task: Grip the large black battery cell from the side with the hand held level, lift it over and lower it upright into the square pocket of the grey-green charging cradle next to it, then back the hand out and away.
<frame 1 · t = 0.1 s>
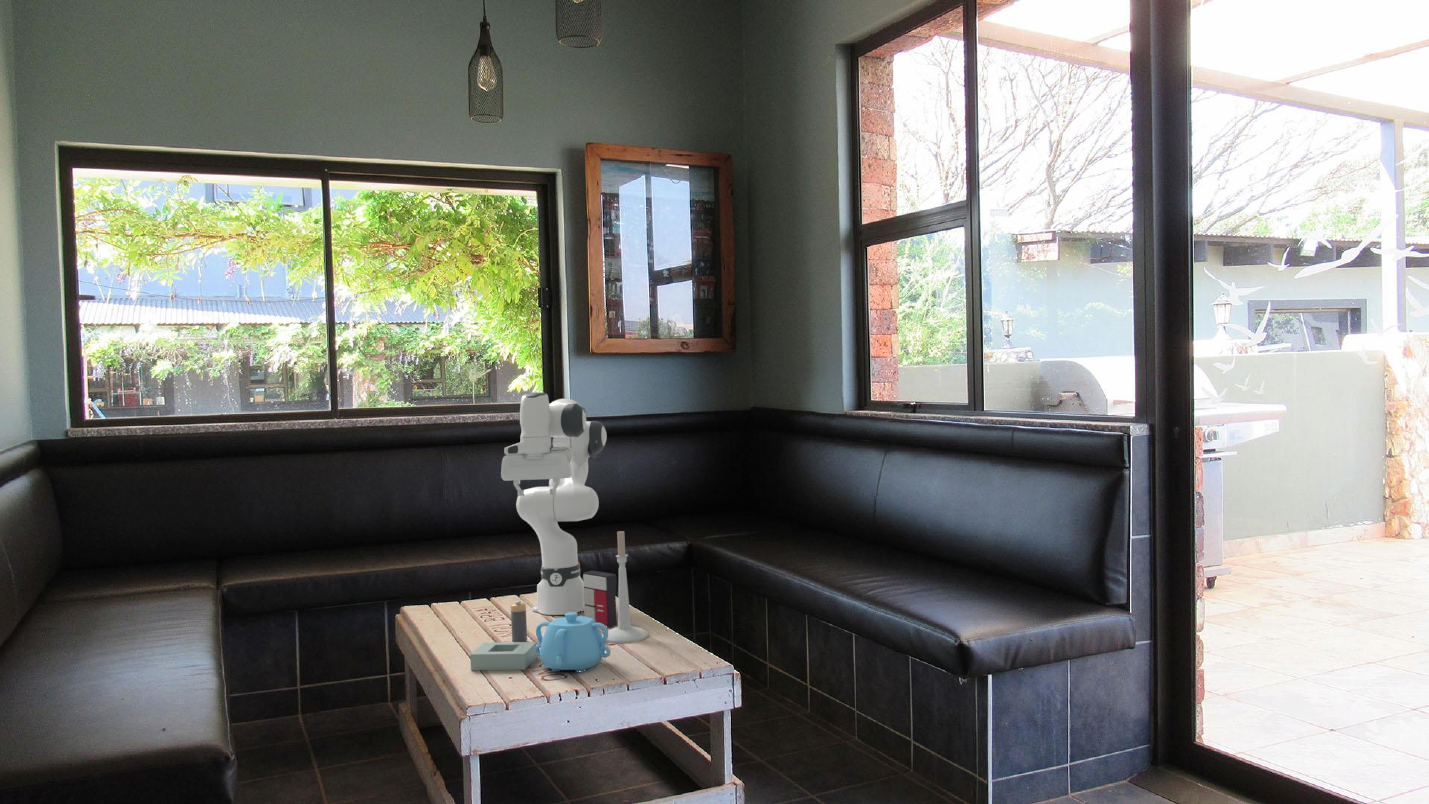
hand: (536, 495, 289), 39 cm above the table, tool pointing down, fingers open, 8 cm apart
decorative pot: (573, 667, 251), on the table
charging cradle: (504, 663, 256), on the table
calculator: (600, 624, 293), on the table
battery cell: (520, 648, 270), on the table
candlestick: (625, 638, 278), on the table
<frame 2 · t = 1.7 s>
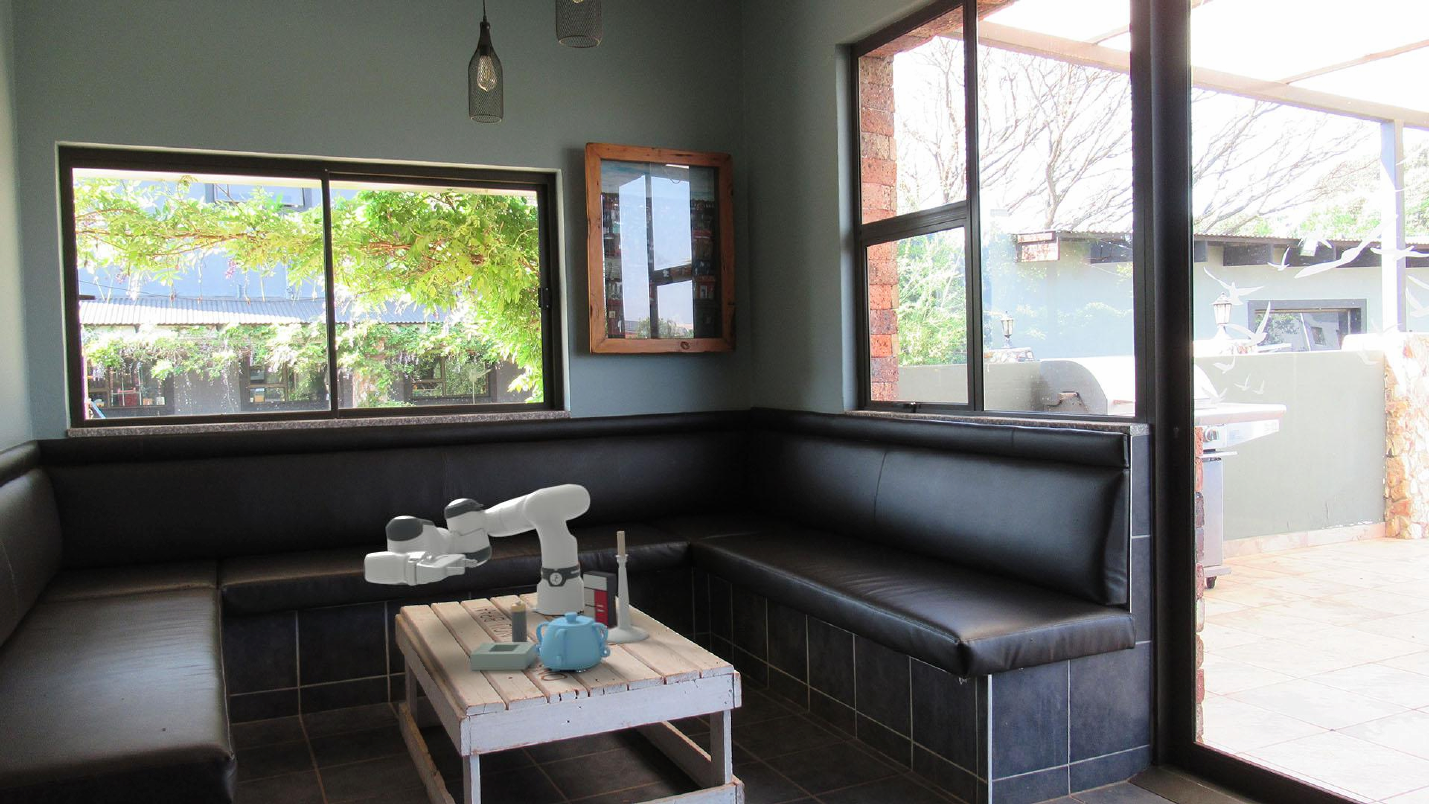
hand: (470, 567, 271), 22 cm above the table, tool horizontal, fingers open, 8 cm apart
nothing on the table moved.
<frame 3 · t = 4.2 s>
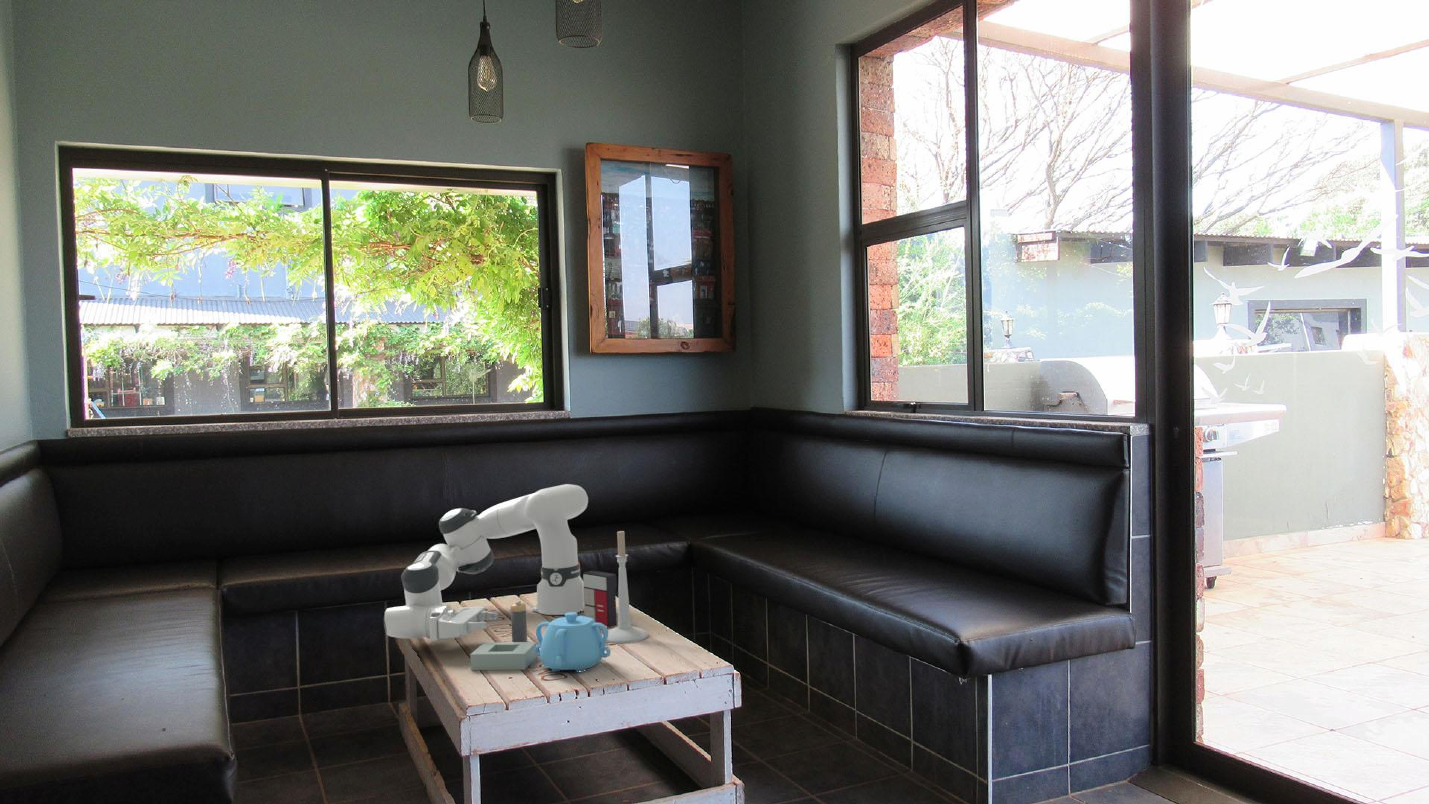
hand: (491, 620, 270), 8 cm above the table, tool horizontal, fingers open, 8 cm apart
nothing on the table moved.
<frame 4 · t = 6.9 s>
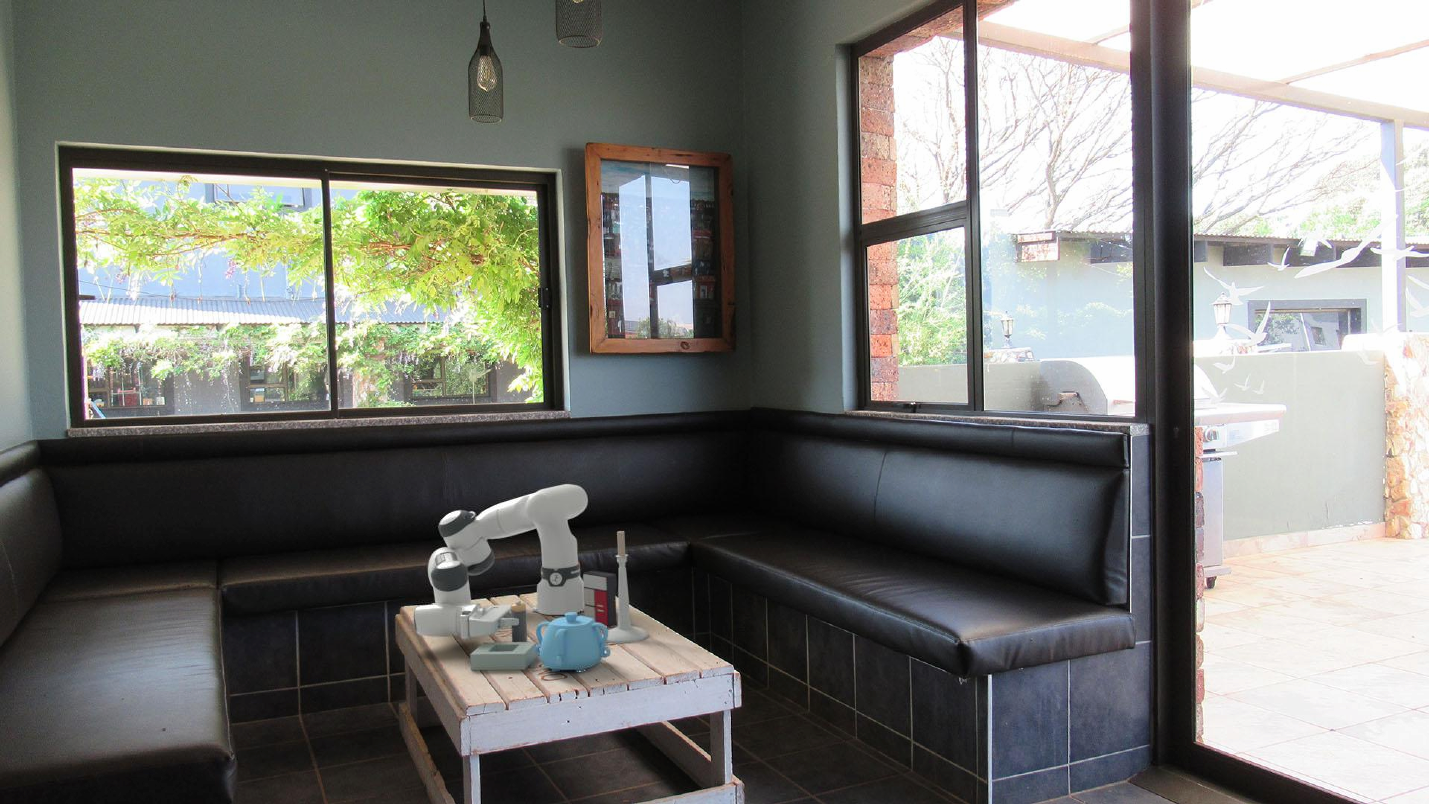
hand: (521, 618, 270), 8 cm above the table, tool horizontal, fingers closed on battery cell, 4 cm apart
battery cell: (520, 648, 270), on the table, touching gripper
everything else where it was.
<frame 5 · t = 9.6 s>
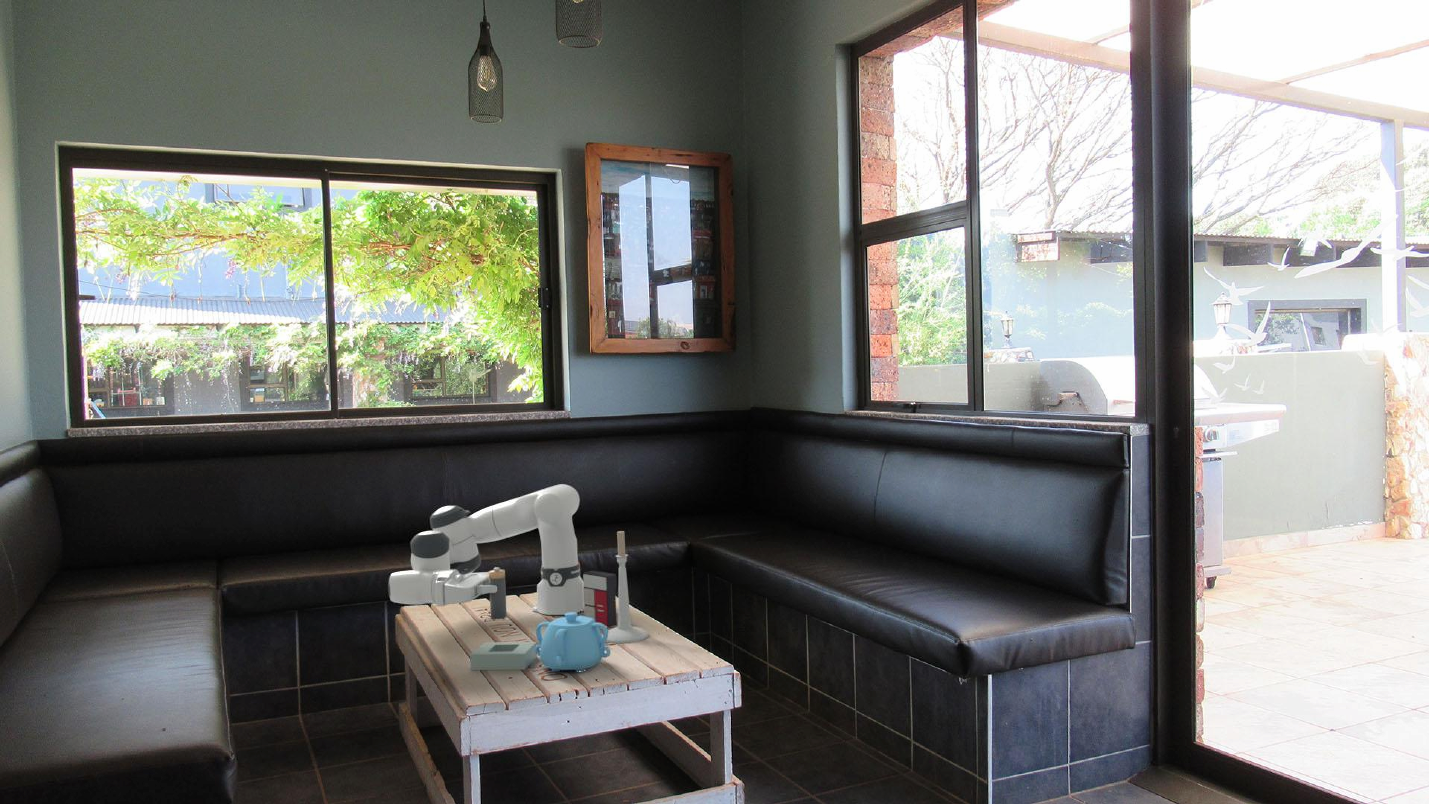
hand: (500, 586, 257), 20 cm above the table, tool horizontal, fingers closed on battery cell, 4 cm apart
battery cell: (498, 617, 257), point 12 cm above the table, touching gripper
everything else where it was.
when the fingers open (10 cm above the table, at t = 12.4 s): battery cell drops 1 cm, resting on charging cradle.
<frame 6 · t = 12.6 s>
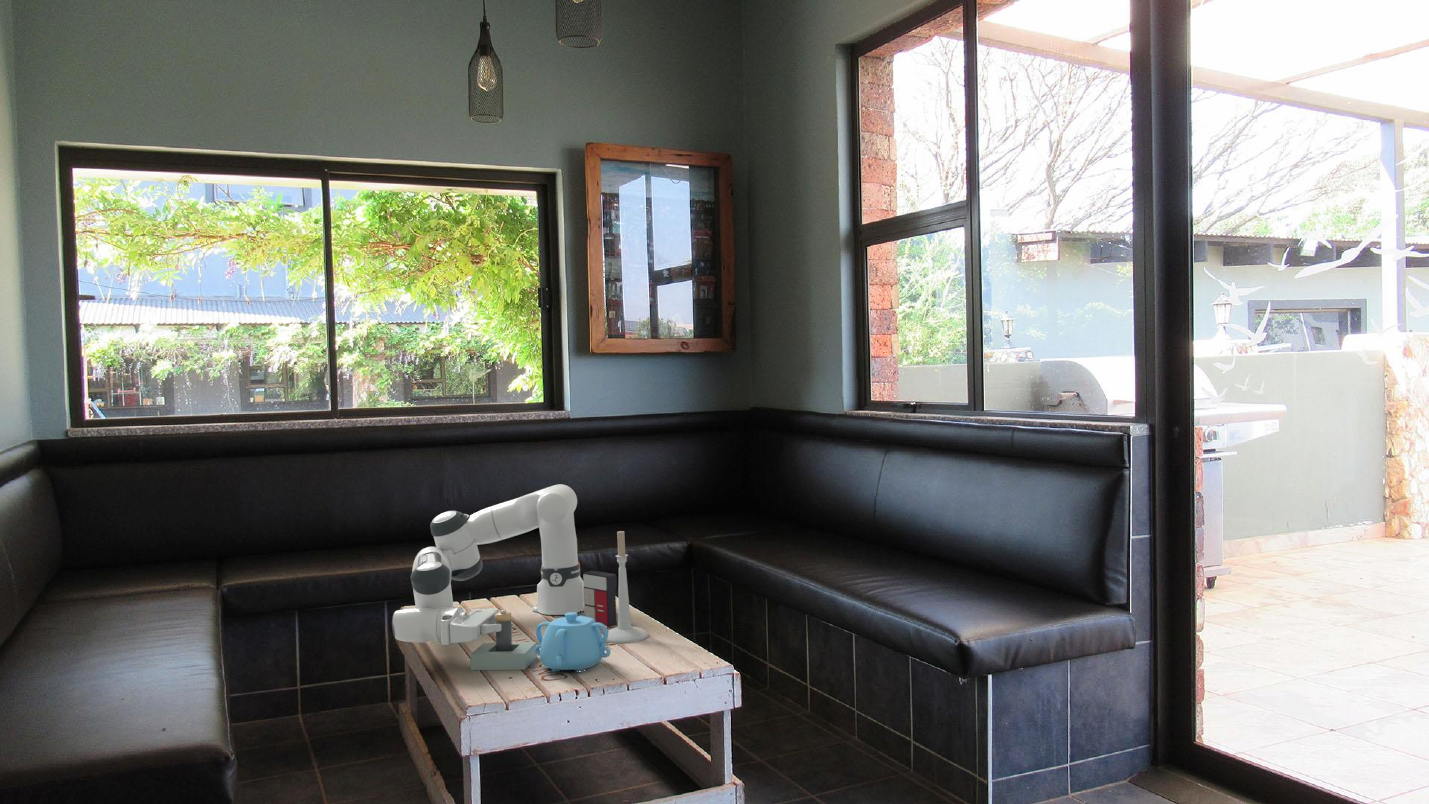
hand: (506, 623, 256), 10 cm above the table, tool horizontal, fingers open, 6 cm apart
battery cell: (504, 660, 256), point 1 cm above the table, touching charging cradle
everything else where it was.
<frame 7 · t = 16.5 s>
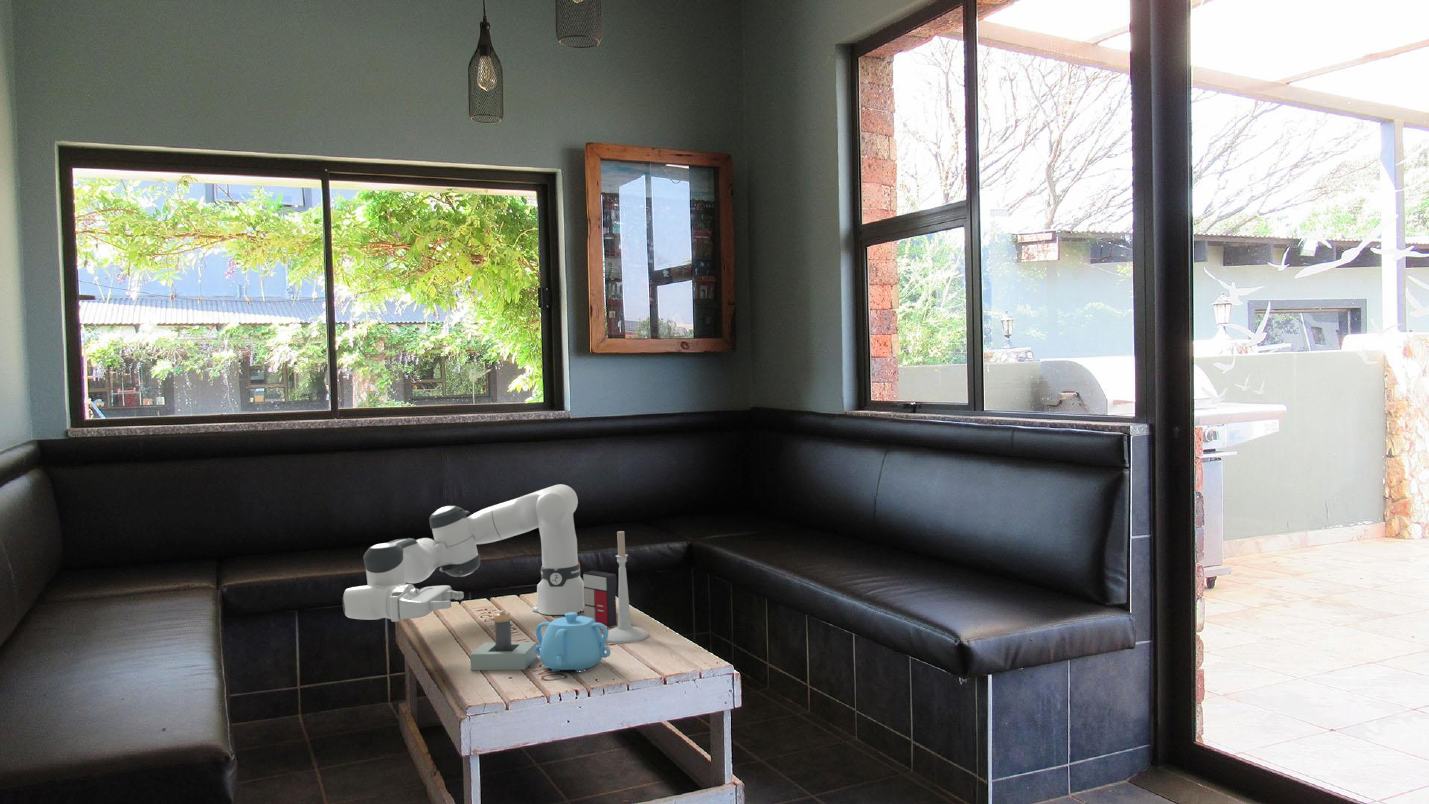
hand: (456, 599, 256), 17 cm above the table, tool horizontal, fingers open, 8 cm apart
nothing on the table moved.
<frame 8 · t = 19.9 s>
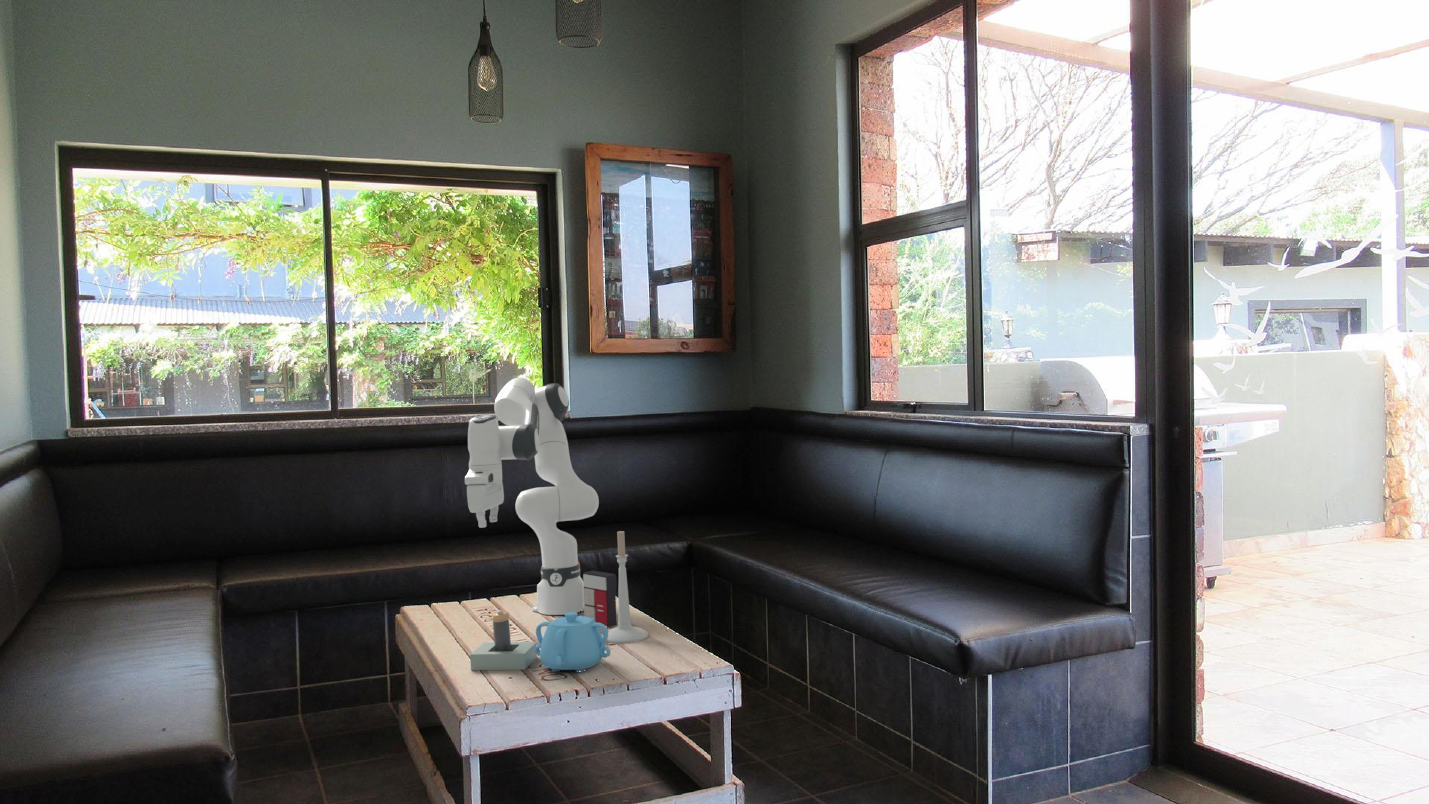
hand: (488, 524, 275), 33 cm above the table, tool pointing down, fingers open, 8 cm apart
nothing on the table moved.
at the end: battery cell 0.1 cm off-centre on the charging cradle, point 0.9 cm above the charging cradle's base; battery cell tilted 2°; the gripper is holding nothing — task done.
